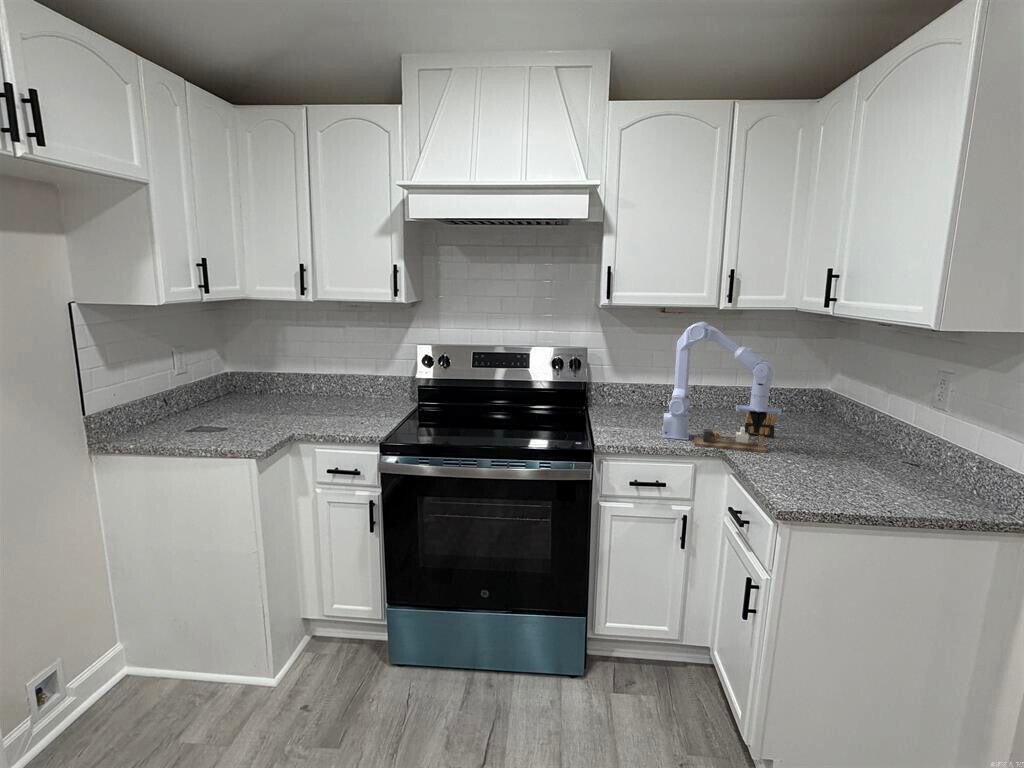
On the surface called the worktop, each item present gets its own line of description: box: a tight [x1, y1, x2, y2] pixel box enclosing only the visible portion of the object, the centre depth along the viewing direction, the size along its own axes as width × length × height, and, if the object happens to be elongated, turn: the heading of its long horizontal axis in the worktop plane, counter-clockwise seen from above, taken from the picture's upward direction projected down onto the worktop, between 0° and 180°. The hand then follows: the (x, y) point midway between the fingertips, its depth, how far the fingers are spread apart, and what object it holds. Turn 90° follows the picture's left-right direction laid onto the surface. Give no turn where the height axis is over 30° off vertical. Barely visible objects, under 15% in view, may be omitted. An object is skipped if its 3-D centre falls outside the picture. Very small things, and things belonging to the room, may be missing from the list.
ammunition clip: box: [743, 406, 776, 439], centre depth 212 cm, size 11×2×12 cm, turn 70°
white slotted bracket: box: [734, 426, 750, 443], centre depth 198 cm, size 4×3×5 cm
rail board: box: [693, 428, 768, 454], centre depth 200 cm, size 24×9×5 cm, turn 74°
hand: (755, 432), depth 197 cm, fingers closed
